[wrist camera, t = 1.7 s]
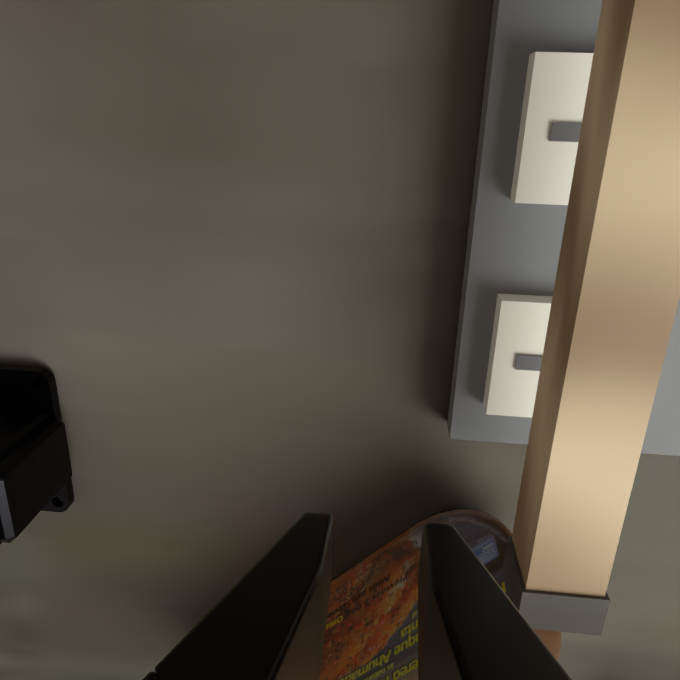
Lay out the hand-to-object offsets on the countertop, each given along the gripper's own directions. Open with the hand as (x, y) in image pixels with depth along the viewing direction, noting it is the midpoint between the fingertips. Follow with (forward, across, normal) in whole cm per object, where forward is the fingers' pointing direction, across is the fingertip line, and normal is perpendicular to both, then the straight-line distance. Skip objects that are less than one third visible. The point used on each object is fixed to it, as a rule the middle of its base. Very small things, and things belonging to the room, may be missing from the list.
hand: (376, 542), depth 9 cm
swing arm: (+7, -5, -3) cm, 9 cm away
